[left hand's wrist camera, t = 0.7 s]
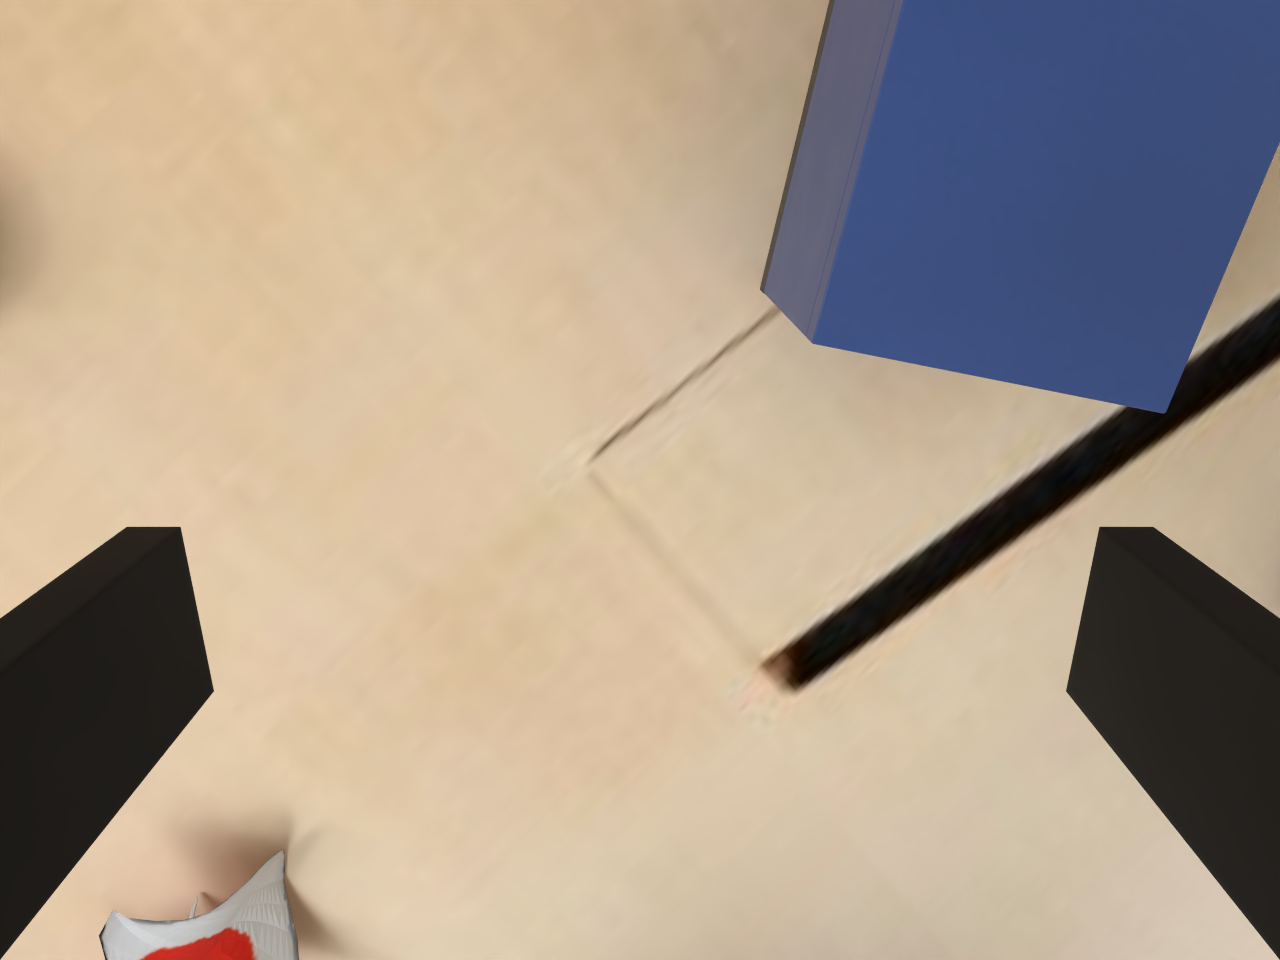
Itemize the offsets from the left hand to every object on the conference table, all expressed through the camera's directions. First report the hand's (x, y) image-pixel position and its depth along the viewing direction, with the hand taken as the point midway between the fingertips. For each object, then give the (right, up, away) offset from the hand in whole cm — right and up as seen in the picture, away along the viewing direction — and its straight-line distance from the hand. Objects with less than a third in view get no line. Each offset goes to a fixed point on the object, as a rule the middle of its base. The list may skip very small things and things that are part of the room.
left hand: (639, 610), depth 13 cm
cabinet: (+12, +17, +21) cm, 29 cm away
